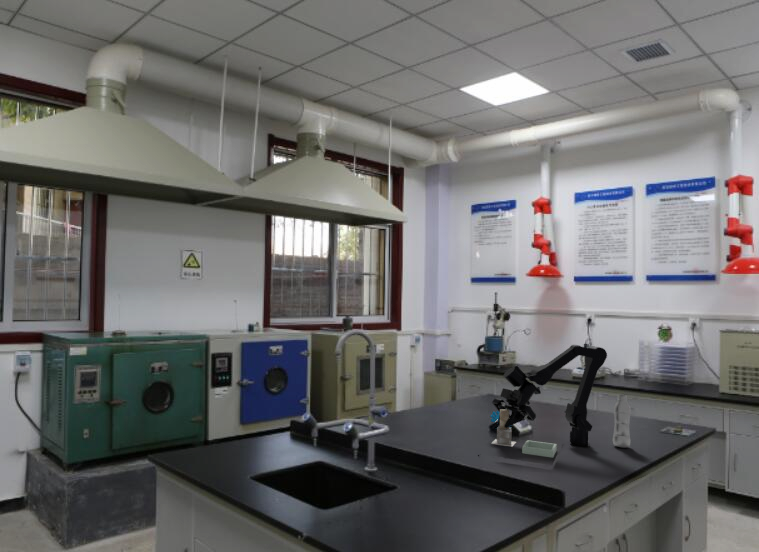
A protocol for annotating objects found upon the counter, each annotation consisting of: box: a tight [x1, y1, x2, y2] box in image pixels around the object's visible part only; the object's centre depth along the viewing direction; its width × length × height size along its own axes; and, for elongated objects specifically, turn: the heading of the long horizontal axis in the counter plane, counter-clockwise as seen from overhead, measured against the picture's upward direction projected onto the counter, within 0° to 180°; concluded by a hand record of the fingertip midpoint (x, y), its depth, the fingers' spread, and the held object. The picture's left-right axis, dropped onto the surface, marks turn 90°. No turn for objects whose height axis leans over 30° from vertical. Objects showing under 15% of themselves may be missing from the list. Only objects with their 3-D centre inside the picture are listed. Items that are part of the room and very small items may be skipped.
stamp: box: [496, 409, 513, 444], centre depth 213 cm, size 5×5×12 cm
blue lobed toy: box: [490, 410, 500, 423], centre depth 243 cm, size 11×6×10 cm
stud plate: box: [491, 438, 517, 448], centre depth 213 cm, size 8×8×5 cm
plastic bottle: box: [612, 394, 632, 449], centre depth 220 cm, size 6×7×20 cm
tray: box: [521, 440, 558, 458], centre depth 202 cm, size 11×11×4 cm
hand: (501, 426), depth 213 cm, fingers closed on stamp, 3 cm apart
